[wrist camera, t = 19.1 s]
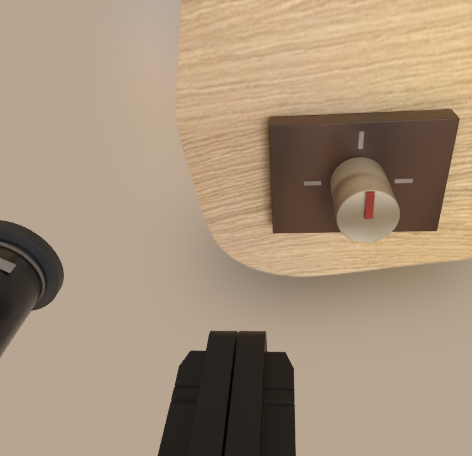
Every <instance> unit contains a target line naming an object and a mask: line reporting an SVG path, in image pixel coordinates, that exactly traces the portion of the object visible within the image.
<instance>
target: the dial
mask: <svg viewBox="0 0 472 456" xmlns="http://www.w3.org/2000/svg"><path fill="white" fill-rule="evenodd" d="M330 188H331V194H332V199H333V205H334V210H335V216H336V221H337V226H338V228H339V230H340V231H341V233H342V234H343V235H344V236H346V237H347V238H349V239H351V240H353V241H357V242H365V243H366V242H374V241H377V240H380V239H382V238H384V237H386V236H387V235H389V234H390V233H391V232H392V231H393V230H394V229H395V227H396V226H397V224H398V221H399V218H400V209H399V206H398V203H397V201H396V198H395V196H394V193H393V191H392V189H391V186H390V184H389V181H388V179H387V177H386V174H385V172H384V170H383V168H382V166H381V165H380V164H379V163H377V162H376V161H374V160H372V159H370V158H365V157H356V158H351V159H348V160H346V161H344V162H343V163H341V164H340V165H339V166H338V167H337V168H336V169H335V170H334V172H333V174H332V176H331V180H330Z"/></svg>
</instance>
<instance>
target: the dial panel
mask: <svg viewBox="0 0 472 456" xmlns="http://www.w3.org/2000/svg"><path fill="white" fill-rule="evenodd" d="M459 119H460V118H459V117H458V116H457V115H456V114H455V113H454V112H453V111H452V110H451V109H450V110H426V111H403V112H379V113H356V114H332V115H309V116H285V117H270V120H269V139H270V166H271V193H272V220H273V233H325V232H341V231H340V230H339V228H338V226H337V221H336V216H335V210H334V205H333V199H332V194H331V188H330V180H331V176H332V174H333V172H334V170H335V169H336V168H337V167H338V166H339V165H340V164H341V163H343V162H344V161H346V160H348V159H351V158H356V157H365V158H370V159H372V160H374V161H376V162H377V163H379V164H380V165H381V166H382V168H383V170H384V172H385V174H386V177H387V179H388V181H389V184H390V186H391V189H392V191H393V193H394V196H395V198H396V201H397V203H398V206H399V209H400V218H399V221H398V224H397V226H396V227H395V229H394V230H393V231H392V232H401V231H437V228H438V223H439V218H440V213H441V208H442V203H443V198H444V193H445V188H446V183H447V178H448V174H449V169H450V164H451V159H452V154H453V149H454V144H455V139H456V134H457V129H458V124H459Z"/></svg>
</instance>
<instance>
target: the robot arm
mask: <svg viewBox="0 0 472 456" xmlns="http://www.w3.org/2000/svg"><path fill="white" fill-rule="evenodd" d="M46 287H47V277H46V273H45V271H44V269H43V267H42V265H41V264H40V262H39V261H38V260H37V259H36V258H35V257H34V256H33V255H32V254H31V253H30V252H28V251H27V250H26V249H24V248H23V247H21V246H19V245H17V244H15V243H13V242H10V241H7V240H4V239H0V357H1V355H2V354H3V353H4V351H5V349H6V348H7V346H8V345H9V344H10V342H11V340H12V339H13V337H14V336H15V334H16V333H17V331H18V330H19V328H20V327H21V325H22V324H23V322H24V321H25V319H26V318H27V316H28V315H29V313H30V311H31V310H32V309H33V307H34V306H35V304H36V303H37V302H38V301H39V300H40V298H41V297H42V295H43V294H44V292H45V290H46ZM294 407H295V406H294V368H293V366H292V364H291V362H290V360H289V359H288V357H287V354H286V353H285V352H267V341H266V332H265V331H240V332H239V333H238V332H237V331H210V333H209V338H208V343H207V348H206V351H190V352H189V354H188V355H187V356H186V358H185V359H184V360H183V362H182V363H181V364H180V366H179V369H178V374H177V378H176V382H175V388H174V391H173V394H172V401H171V403H170V407H169V411H168V415H167V419H166V424H165V428H164V432H163V436H162V441H161V444H160V449H159V453H158V456H296V450H295V408H294Z"/></svg>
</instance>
